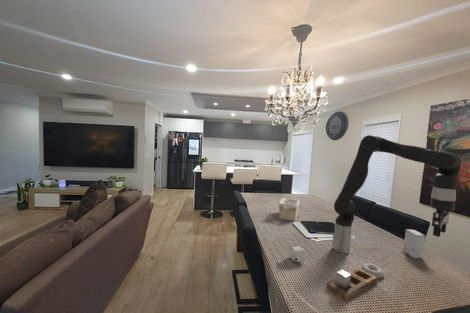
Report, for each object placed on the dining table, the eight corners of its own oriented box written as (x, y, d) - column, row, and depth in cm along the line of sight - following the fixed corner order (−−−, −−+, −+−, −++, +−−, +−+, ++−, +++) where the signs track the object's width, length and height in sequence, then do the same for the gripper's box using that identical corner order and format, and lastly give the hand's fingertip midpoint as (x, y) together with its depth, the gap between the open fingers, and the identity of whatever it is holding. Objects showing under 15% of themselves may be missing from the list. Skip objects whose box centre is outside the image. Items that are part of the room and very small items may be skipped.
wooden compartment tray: (326, 288, 95) (327, 282, 95) (358, 273, 108) (358, 267, 108) (345, 302, 87) (346, 294, 87) (376, 283, 100) (377, 276, 100)
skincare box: (402, 251, 134) (404, 228, 133) (411, 251, 134) (413, 229, 133) (413, 258, 126) (415, 234, 125) (423, 258, 126) (425, 234, 125)
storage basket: (282, 211, 206) (283, 197, 205) (299, 214, 200) (299, 199, 199) (277, 219, 184) (278, 202, 183) (296, 222, 178) (297, 205, 177)
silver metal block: (335, 289, 94) (336, 272, 94) (340, 286, 96) (342, 269, 96) (344, 295, 91) (345, 277, 90) (349, 291, 93) (351, 274, 92)
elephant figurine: (295, 267, 111) (296, 251, 111) (284, 255, 123) (285, 241, 122) (310, 265, 114) (311, 249, 113) (298, 253, 125) (299, 239, 125)
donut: (356, 270, 111) (375, 281, 102) (357, 264, 111) (376, 274, 102) (368, 266, 115) (388, 277, 106) (369, 260, 115) (388, 270, 106)
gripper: (436, 194, 98) (432, 227, 99) (426, 197, 90) (422, 233, 91) (459, 198, 91) (455, 233, 92) (451, 202, 84) (446, 241, 85)
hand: (439, 233), depth 92 cm, fingers open, 8 cm apart
